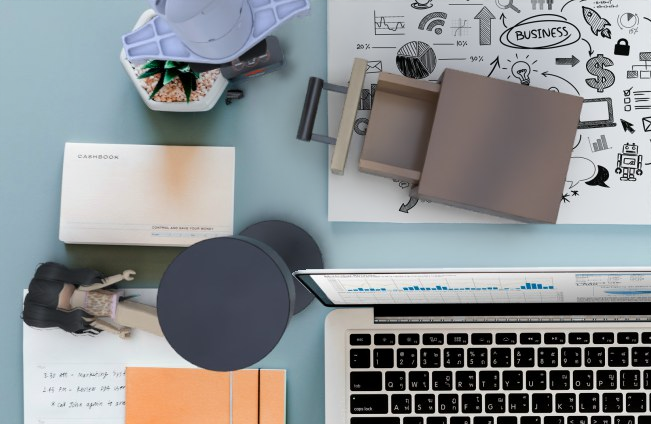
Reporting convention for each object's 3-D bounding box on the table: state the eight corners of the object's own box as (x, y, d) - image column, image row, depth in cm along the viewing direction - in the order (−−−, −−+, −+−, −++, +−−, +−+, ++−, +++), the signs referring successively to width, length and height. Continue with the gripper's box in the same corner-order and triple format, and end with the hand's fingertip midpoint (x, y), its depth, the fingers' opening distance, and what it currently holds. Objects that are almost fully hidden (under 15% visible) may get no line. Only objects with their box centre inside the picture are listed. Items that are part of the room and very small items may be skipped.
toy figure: (184, 271, 67) (40, 255, 66) (170, 285, 60) (10, 267, 60) (179, 338, 67) (36, 322, 67) (164, 358, 61) (6, 341, 61)
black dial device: (213, 64, 67) (207, 56, 63) (279, 42, 66) (276, 33, 63) (227, 106, 66) (221, 101, 63) (293, 85, 66) (290, 78, 63)
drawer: (294, 164, 65) (288, 158, 59) (316, 64, 65) (313, 48, 59) (443, 197, 65) (453, 195, 58) (465, 97, 65) (478, 83, 58)
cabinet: (408, 196, 66) (417, 193, 58) (433, 86, 66) (445, 67, 58) (530, 224, 65) (556, 224, 57) (555, 112, 65) (584, 97, 57)
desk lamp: (238, 210, 66) (159, 203, 38) (333, 231, 66) (323, 240, 38) (217, 305, 66) (122, 367, 38) (311, 327, 66) (286, 406, 38)
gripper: (287, -83, 44) (301, -12, 58) (86, -25, 45) (147, 32, 58) (314, 15, 44) (322, 63, 58) (113, 73, 45) (167, 107, 58)
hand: (235, 53), depth 58 cm, fingers closed
